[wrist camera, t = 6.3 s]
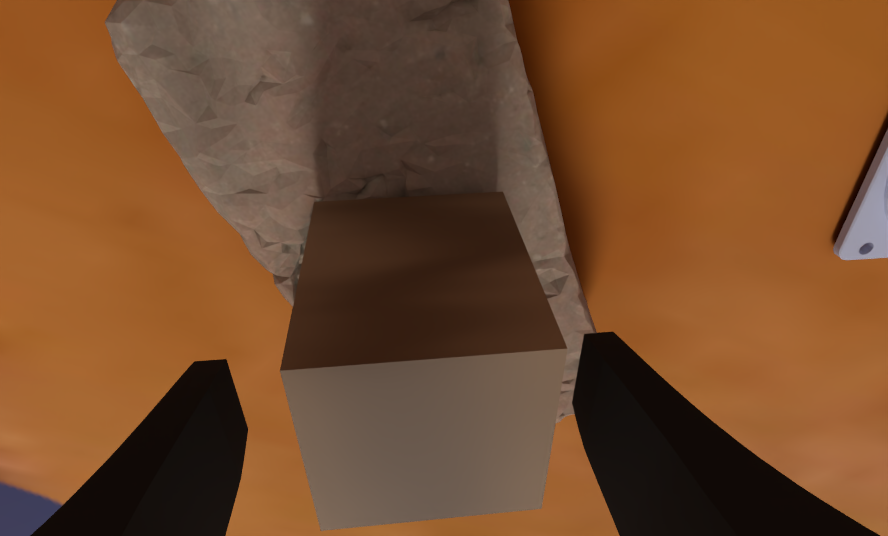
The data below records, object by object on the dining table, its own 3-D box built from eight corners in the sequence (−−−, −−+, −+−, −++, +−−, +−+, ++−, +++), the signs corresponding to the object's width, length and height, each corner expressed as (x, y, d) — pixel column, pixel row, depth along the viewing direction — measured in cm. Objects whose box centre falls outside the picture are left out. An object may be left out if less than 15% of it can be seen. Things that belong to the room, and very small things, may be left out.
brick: (140, -18, 14) (48, 15, 10) (444, -158, 13) (471, -180, 9) (394, 388, 23) (397, 486, 19) (583, 324, 22) (626, 414, 18)
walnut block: (502, 191, 13) (567, 348, 9) (494, 331, 16) (541, 508, 11) (314, 201, 13) (280, 370, 8) (337, 343, 15) (320, 530, 11)
